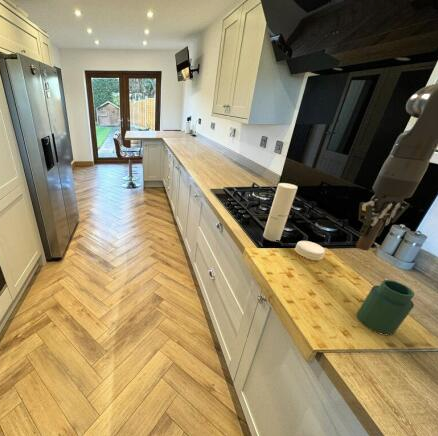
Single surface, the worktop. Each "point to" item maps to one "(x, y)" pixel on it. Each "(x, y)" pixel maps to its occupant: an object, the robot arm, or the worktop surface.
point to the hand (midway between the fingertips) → (368, 235)
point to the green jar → (386, 307)
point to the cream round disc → (310, 250)
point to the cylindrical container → (279, 211)
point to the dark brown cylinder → (368, 241)
